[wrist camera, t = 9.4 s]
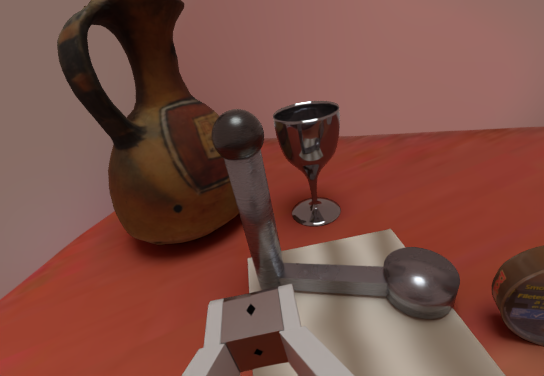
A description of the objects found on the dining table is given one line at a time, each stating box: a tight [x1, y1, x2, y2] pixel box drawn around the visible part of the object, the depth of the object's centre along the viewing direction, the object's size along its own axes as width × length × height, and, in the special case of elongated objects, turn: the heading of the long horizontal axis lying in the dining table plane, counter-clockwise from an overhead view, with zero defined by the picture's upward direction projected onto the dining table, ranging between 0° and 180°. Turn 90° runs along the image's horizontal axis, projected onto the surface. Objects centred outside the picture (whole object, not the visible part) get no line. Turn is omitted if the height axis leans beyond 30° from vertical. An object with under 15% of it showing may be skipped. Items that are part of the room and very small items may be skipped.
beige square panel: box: [248, 229, 505, 376], centre depth 26 cm, size 18×18×1 cm
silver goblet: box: [273, 101, 341, 226], centre depth 37 cm, size 8×8×15 cm
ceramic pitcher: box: [57, 0, 239, 245], centre depth 37 cm, size 20×20×30 cm
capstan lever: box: [211, 109, 460, 319], centre depth 23 cm, size 19×6×18 cm, turn 78°
